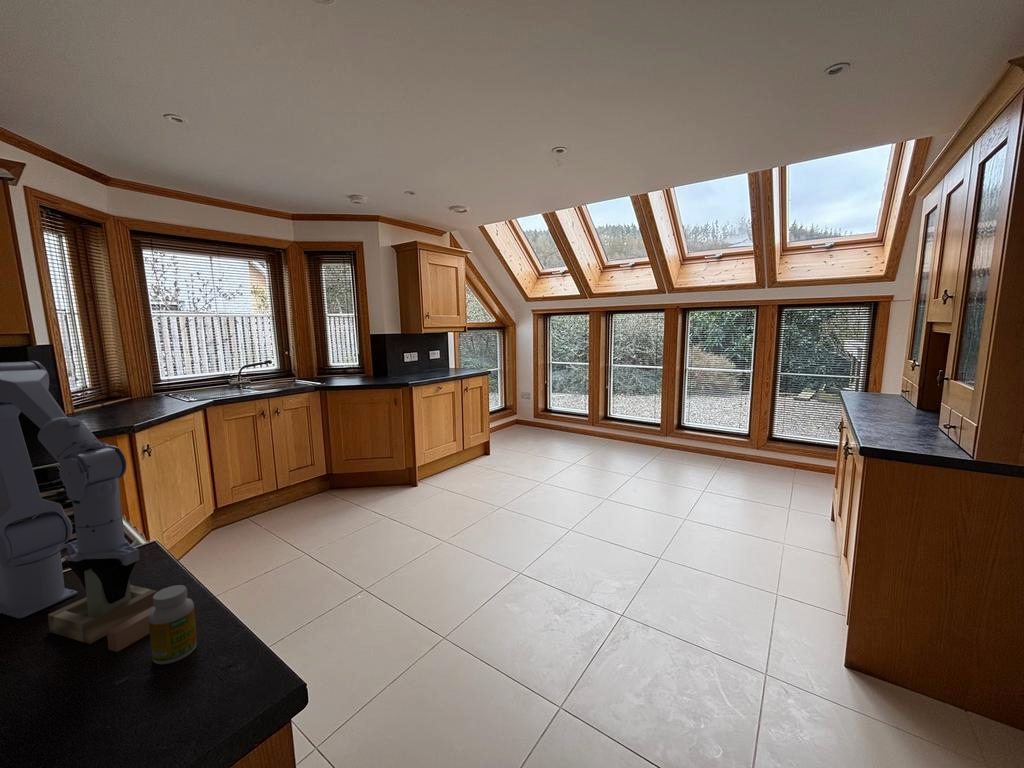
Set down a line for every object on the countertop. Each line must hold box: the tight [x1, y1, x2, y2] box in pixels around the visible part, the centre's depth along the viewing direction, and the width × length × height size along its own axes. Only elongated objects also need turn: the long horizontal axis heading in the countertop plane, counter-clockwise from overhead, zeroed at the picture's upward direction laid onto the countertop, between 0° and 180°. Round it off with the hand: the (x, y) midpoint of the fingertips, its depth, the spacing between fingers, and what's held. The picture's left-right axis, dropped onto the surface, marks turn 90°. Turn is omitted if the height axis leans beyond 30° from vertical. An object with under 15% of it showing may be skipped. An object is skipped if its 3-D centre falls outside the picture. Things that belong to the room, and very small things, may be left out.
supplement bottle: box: [149, 584, 198, 665], centre depth 65 cm, size 5×5×10 cm
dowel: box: [84, 562, 131, 618], centre depth 74 cm, size 4×4×8 cm
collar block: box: [47, 584, 158, 645], centre depth 74 cm, size 10×10×3 cm
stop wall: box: [106, 606, 155, 653], centre depth 71 cm, size 2×10×3 cm, turn 163°
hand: (107, 597), depth 73 cm, fingers closed on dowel, 4 cm apart
